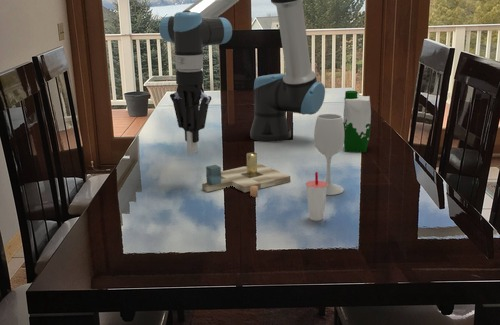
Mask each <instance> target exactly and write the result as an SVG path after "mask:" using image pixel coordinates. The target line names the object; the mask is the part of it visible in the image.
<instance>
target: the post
mask: <svg viewBox="0 0 500 325" xmlns="http://www.w3.org/2000/svg"><path fill="white" fill-rule="evenodd" d="M257 164H258V153H257V152H247V153H246V166H247V177H248V178H253V177H257Z"/></svg>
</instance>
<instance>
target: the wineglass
mask: <svg viewBox="0 0 500 325" xmlns="http://www.w3.org/2000/svg"><path fill="white" fill-rule="evenodd" d="M314 125H315V126H314V132H313V139H314V145H315V148H316V149H317V151H318V152H319V153H320V154H322V156H324V157H325V158H326V177H325V178H326V180H325V182H326V183H328V185H327V191H326V196H335V195H339V194H343V192H344V191H345V189H344V187H342V186H341V185H340V184H335V183H332V181H331V163H332V158H333V157H334V156H335V155H336V154H338V153H340V151H341V150H342V148H343V147H344V124H343V117H342V115H341V114H337V113H322V114H319V115H317V116H316V119H315V124H314Z"/></svg>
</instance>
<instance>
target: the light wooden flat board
mask: <svg viewBox="0 0 500 325" xmlns="http://www.w3.org/2000/svg"><path fill="white" fill-rule="evenodd" d="M205 170H206V171H205V172H206V175H205V176H206V182H204V183H202V184H201V188H202V189H201V190H203V191H205V192H206V193H209V192H213V191H217V190H223V189H227V188H230V186H231V187H232V186H233V187H232V188H234V187H235V188H234V189H236V190H239V191H241V192H243V193H248V192H250V186H258V190H262V189H265V188H269V187H274V186H277V185H283V184H285V183H290V182H291V175H289V174H286V173H283V172H281V171H279V170H276V169H274V168H272V167H269V166H266V165H265V164H261V163H258V162H257V177H253V178H248V177H247V165H246V166H239V167H236V168H231V169H227V170H222V167H221V166H219V165H217V164H212V165H206V166H205ZM226 187H227V188H226ZM222 188H223V189H222Z"/></svg>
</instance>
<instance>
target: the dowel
mask: <svg viewBox="0 0 500 325" xmlns="http://www.w3.org/2000/svg"><path fill="white" fill-rule="evenodd" d="M258 191H259V189H258V186H250V191H249V192H250V196H249V197H251V196H252V197H251V198H257V197H258V196H259V195H258V194H259V193H258Z"/></svg>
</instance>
